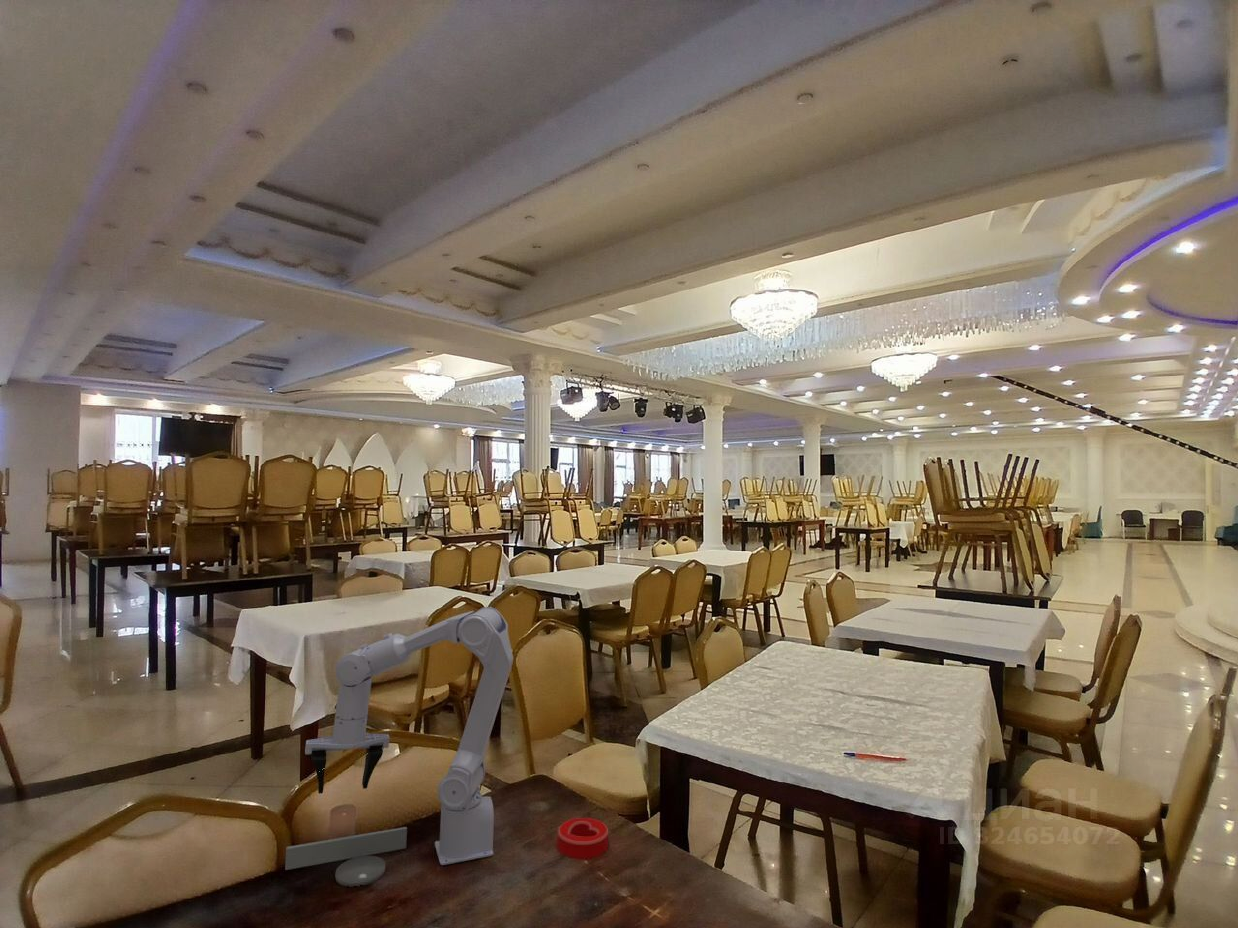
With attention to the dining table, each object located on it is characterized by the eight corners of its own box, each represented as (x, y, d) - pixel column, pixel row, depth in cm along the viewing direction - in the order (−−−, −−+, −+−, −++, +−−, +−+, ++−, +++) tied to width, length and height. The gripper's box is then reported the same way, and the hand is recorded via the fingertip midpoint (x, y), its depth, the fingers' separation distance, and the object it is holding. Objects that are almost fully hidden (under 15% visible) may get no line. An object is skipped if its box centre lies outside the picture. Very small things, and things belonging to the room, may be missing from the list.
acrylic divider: (405, 845, 120) (406, 826, 120) (406, 848, 119) (406, 828, 119) (285, 867, 112) (286, 846, 112) (285, 869, 111) (286, 849, 111)
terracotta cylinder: (353, 834, 123) (355, 802, 124) (354, 846, 119) (356, 812, 120) (328, 839, 121) (330, 806, 122) (328, 850, 117) (330, 816, 118)
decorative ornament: (546, 849, 120) (547, 832, 120) (577, 828, 128) (578, 812, 128) (588, 866, 115) (588, 847, 115) (617, 843, 123) (618, 826, 123)
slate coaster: (383, 856, 116) (383, 852, 116) (386, 880, 108) (386, 875, 109) (335, 865, 113) (335, 860, 113) (335, 890, 105) (335, 885, 105)
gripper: (388, 705, 128) (380, 775, 127) (308, 710, 122) (299, 783, 121) (393, 717, 122) (385, 791, 121) (309, 723, 115) (300, 800, 114)
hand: (342, 788), depth 120 cm, fingers open, 7 cm apart
